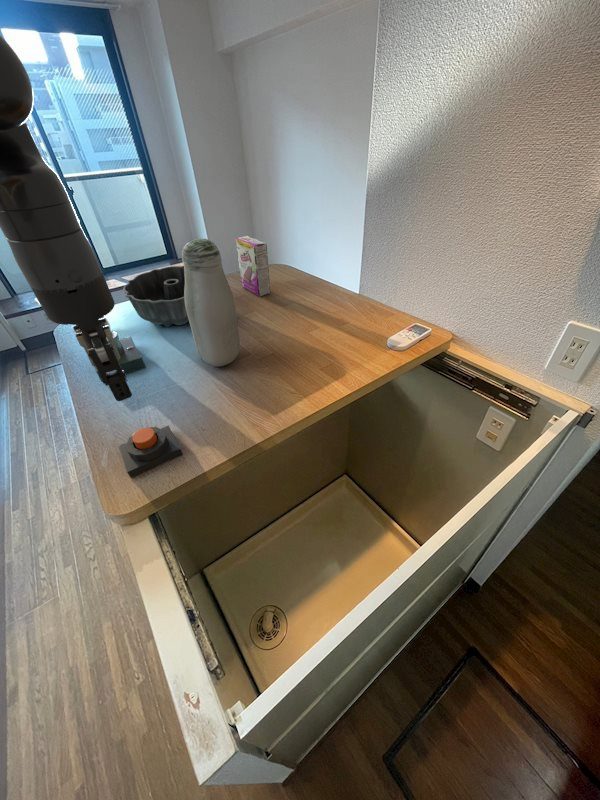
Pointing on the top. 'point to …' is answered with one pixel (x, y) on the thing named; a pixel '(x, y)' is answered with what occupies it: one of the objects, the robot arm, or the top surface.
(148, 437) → the button
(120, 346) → the dial
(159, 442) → the button block
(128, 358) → the panel
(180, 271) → the bundt pan
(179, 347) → the top surface
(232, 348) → the off-white tall tapered cylinder
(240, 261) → the candy bar box
